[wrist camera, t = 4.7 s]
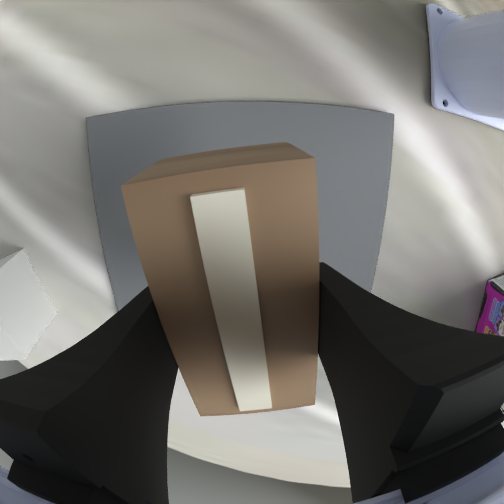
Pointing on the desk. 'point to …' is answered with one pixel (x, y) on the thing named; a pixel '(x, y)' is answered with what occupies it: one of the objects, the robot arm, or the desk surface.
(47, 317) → the white cube
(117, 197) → the rubber mat
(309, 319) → the brown box with strip
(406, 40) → the desk surface
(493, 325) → the candy bar box
